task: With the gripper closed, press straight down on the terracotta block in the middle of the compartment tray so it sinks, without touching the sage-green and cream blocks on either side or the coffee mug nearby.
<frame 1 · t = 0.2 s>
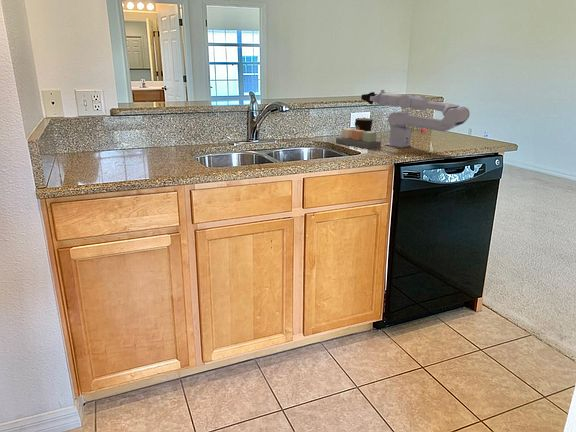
hand: (366, 96, 216), 21 cm above the worktop, tool horizontal, fingers open, 7 cm apart
block cream: (347, 133, 214), point 5 cm above the worktop, slide at 0.0 cm
compartment tray: (357, 144, 211), on the worktop
block sage: (369, 136, 205), point 5 cm above the worktop, slide at 0.0 cm
block terracotta: (358, 135, 209), point 5 cm above the worktop, slide at 0.0 cm
coffee mug: (362, 138, 228), on the worktop
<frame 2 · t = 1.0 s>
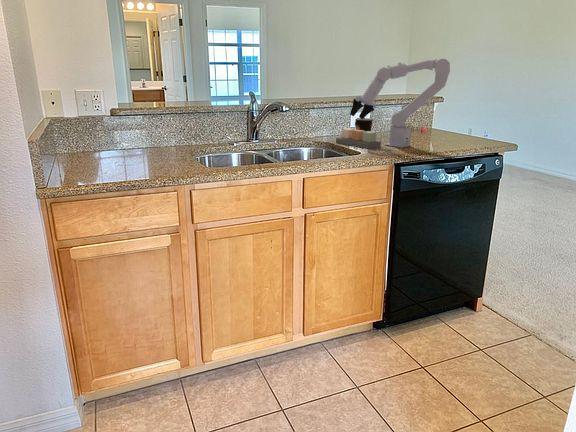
hand: (356, 116, 212), 13 cm above the worktop, tool tilted 30°, fingers open, 7 cm apart
nothing on the worktop moved.
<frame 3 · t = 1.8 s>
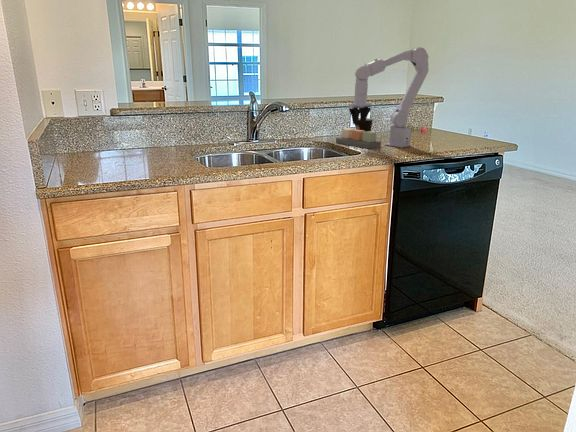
hand: (359, 123, 208), 10 cm above the worktop, tool pointing down, fingers open, 5 cm apart
nothing on the worktop moved.
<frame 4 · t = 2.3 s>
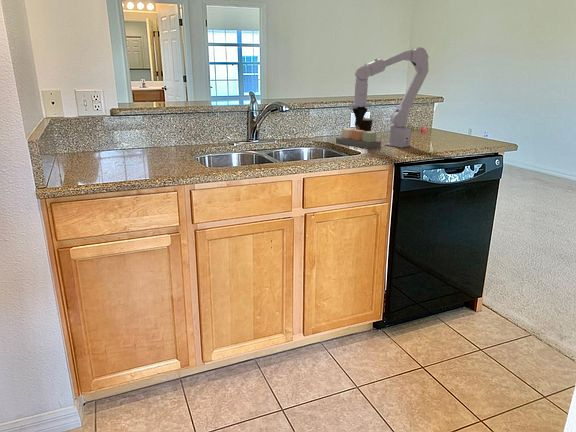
hand: (359, 123, 208), 10 cm above the worktop, tool pointing down, fingers closed
nothing on the worktop moved.
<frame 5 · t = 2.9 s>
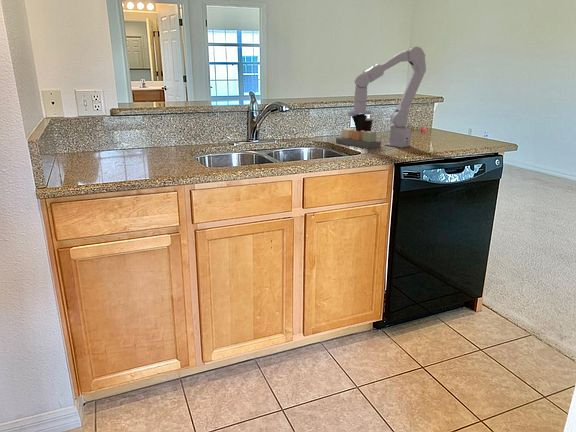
hand: (358, 130, 209), 7 cm above the worktop, tool pointing down, fingers closed, pressing on block terracotta
block terracotta: (358, 135, 209), point 5 cm above the worktop, slide at -0.1 cm, touching gripper
everything else where it was.
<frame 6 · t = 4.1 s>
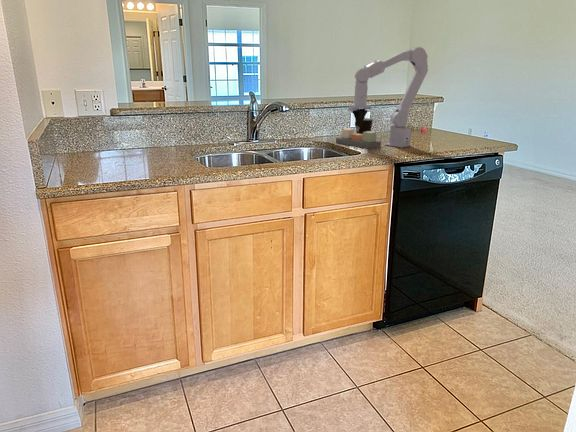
hand: (359, 125, 208), 9 cm above the worktop, tool pointing down, fingers closed
block terracotta: (358, 138, 210), point 3 cm above the worktop, slide at -1.8 cm
everything else where it was.
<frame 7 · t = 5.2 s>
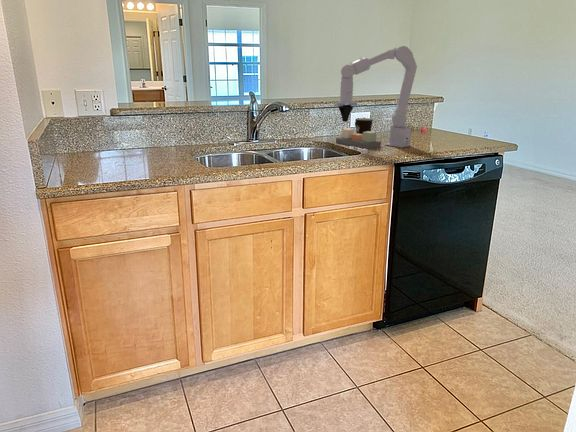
hand: (345, 121, 211), 10 cm above the worktop, tool pointing down, fingers closed
nothing on the worktop moved.
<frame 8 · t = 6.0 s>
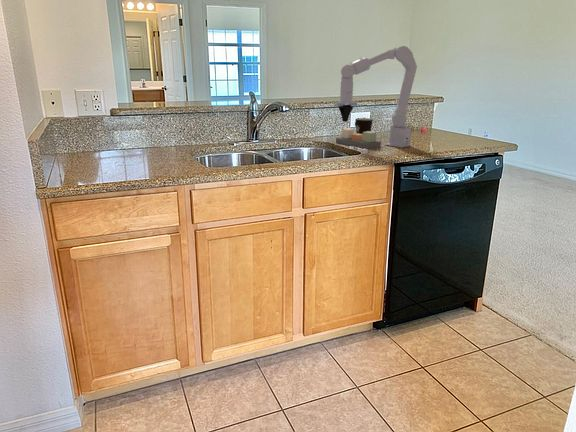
hand: (345, 121, 211), 10 cm above the worktop, tool pointing down, fingers closed
nothing on the worktop moved.
at the end: block terracotta slide at -1.8 cm; block sage slide at 0.0 cm; block cream slide at 0.0 cm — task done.
